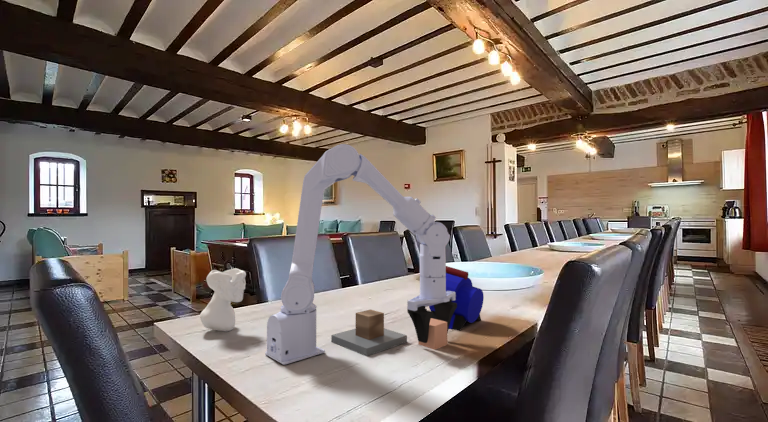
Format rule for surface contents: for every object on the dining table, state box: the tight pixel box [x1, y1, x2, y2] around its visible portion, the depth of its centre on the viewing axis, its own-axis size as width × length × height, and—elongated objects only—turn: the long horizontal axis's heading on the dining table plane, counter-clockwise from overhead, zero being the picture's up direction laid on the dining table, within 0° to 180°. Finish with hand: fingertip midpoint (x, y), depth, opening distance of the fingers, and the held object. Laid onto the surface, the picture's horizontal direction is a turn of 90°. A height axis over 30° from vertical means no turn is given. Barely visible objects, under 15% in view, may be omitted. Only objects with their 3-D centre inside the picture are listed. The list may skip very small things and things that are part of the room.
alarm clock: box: [428, 265, 484, 331], centre depth 97 cm, size 12×12×15 cm
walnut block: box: [355, 309, 385, 340], centre depth 82 cm, size 4×4×5 cm
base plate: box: [330, 327, 408, 357], centre depth 82 cm, size 12×12×2 cm
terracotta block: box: [417, 318, 448, 351], centre depth 80 cm, size 4×4×5 cm
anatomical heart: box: [199, 267, 247, 332], centre depth 90 cm, size 10×11×15 cm
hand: (432, 337), depth 80 cm, fingers open, 6 cm apart
